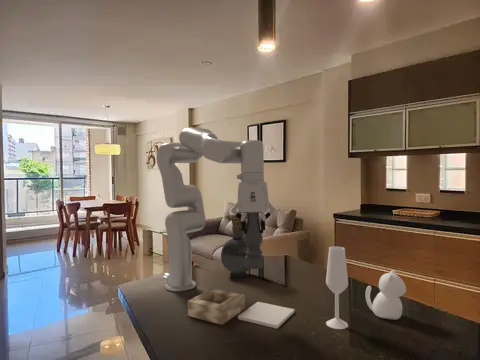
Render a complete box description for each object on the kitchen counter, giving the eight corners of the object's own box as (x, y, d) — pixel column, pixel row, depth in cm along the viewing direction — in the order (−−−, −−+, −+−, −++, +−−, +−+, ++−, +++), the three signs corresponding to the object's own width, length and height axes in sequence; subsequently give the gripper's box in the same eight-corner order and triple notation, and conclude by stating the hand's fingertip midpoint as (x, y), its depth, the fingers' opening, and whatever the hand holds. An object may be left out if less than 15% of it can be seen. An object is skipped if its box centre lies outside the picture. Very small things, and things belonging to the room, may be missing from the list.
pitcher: (229, 270, 168) (228, 208, 167) (265, 275, 160) (265, 210, 159) (217, 276, 159) (216, 210, 158) (255, 282, 150) (255, 212, 149)
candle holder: (261, 269, 112) (260, 191, 112) (243, 268, 114) (241, 192, 113) (264, 264, 118) (263, 190, 118) (246, 263, 120) (245, 190, 119)
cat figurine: (403, 325, 108) (404, 277, 107) (361, 316, 115) (362, 271, 114) (407, 315, 116) (408, 270, 115) (367, 306, 122) (368, 264, 122)
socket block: (187, 315, 117) (187, 300, 117) (211, 301, 129) (211, 288, 129) (222, 324, 110) (222, 309, 109) (244, 309, 122) (244, 294, 121)
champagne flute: (323, 319, 113) (323, 245, 112) (344, 319, 112) (344, 245, 112) (328, 329, 106) (328, 250, 105) (350, 329, 106) (350, 250, 105)
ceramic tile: (237, 319, 114) (237, 316, 114) (257, 304, 126) (257, 301, 126) (277, 328, 107) (277, 325, 106) (294, 312, 119) (294, 309, 119)
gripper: (226, 178, 112) (227, 235, 112) (279, 177, 111) (280, 234, 112) (227, 178, 119) (228, 231, 120) (277, 177, 119) (278, 230, 119)
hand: (253, 232), depth 116 cm, fingers closed on candle holder, 5 cm apart
